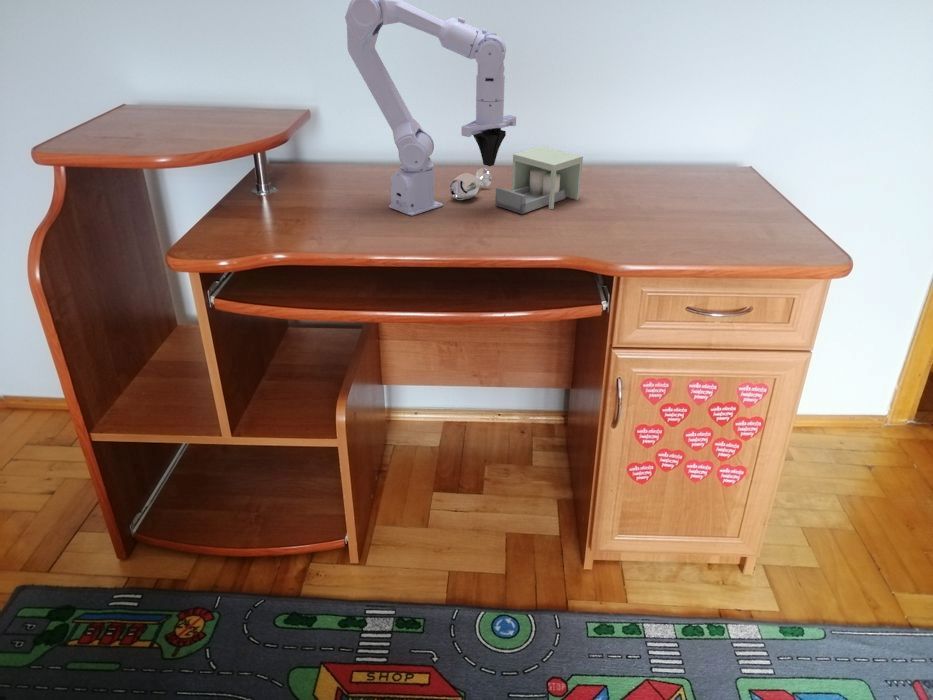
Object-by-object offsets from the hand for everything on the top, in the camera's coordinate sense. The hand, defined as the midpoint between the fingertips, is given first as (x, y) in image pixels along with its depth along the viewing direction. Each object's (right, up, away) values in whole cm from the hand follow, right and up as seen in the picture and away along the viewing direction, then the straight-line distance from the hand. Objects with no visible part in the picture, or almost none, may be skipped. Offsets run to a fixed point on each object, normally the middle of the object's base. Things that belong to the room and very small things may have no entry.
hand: (488, 164), depth 151 cm
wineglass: (-1, +1, +17) cm, 17 cm away
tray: (+10, -6, +9) cm, 15 cm away
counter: (+14, -5, +12) cm, 18 cm away
